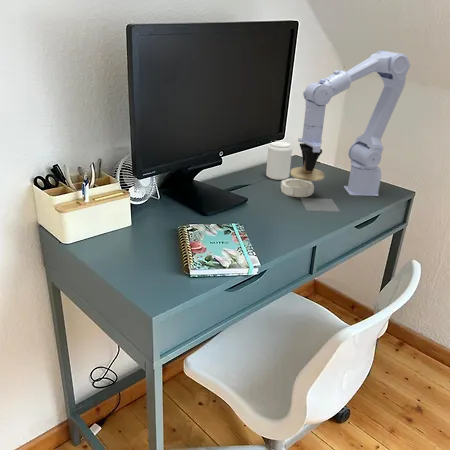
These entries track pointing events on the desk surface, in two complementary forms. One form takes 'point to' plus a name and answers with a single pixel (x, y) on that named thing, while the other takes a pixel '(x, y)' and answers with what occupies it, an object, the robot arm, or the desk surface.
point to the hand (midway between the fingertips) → (308, 168)
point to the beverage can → (279, 160)
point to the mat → (319, 204)
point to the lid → (307, 174)
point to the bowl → (297, 187)
